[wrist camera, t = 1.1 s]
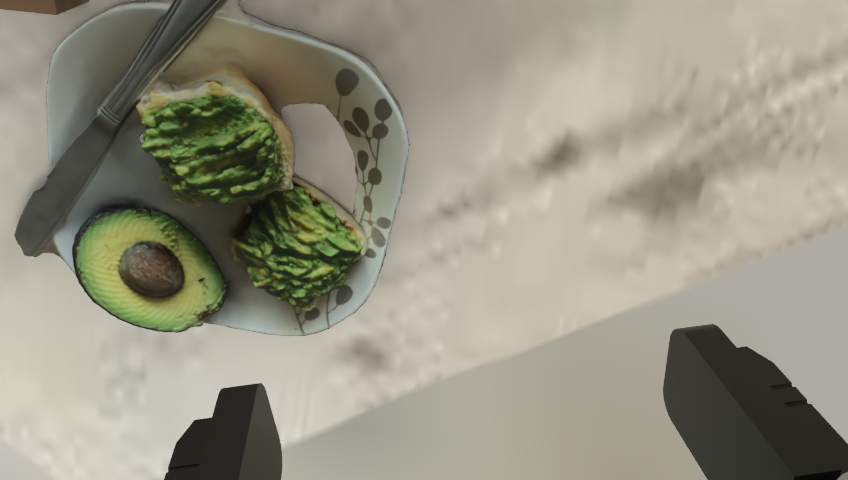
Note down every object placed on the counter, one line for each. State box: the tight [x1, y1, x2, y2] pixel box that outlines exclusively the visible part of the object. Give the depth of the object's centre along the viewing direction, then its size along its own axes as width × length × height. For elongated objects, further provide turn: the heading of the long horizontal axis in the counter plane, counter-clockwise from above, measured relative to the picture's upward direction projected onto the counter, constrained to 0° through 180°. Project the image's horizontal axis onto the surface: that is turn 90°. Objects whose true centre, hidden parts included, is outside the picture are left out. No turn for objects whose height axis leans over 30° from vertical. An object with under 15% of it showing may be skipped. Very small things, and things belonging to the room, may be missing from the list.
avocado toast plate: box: [15, 0, 410, 336], centre depth 28 cm, size 19×18×5 cm
